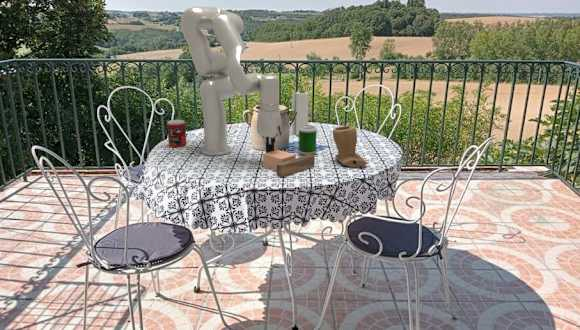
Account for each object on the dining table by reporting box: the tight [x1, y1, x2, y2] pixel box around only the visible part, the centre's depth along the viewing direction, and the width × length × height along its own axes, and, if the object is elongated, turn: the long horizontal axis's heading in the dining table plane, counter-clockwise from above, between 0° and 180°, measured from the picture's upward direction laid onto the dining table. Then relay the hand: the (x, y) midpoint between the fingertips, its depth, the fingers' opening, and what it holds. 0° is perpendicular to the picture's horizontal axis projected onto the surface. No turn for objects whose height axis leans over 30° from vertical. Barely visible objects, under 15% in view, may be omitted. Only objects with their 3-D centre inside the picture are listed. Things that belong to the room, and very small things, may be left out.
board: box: [276, 154, 316, 178], centre depth 170 cm, size 3×18×4 cm, turn 136°
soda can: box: [298, 124, 318, 156], centre depth 190 cm, size 8×8×12 cm
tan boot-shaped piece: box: [332, 125, 368, 168], centre depth 178 cm, size 15×12×15 cm
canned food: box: [166, 119, 187, 148], centre depth 202 cm, size 8×8×11 cm
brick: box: [262, 149, 297, 172], centre depth 174 cm, size 10×8×6 cm
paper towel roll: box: [291, 91, 310, 137], centre depth 220 cm, size 7×6×21 cm
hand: (270, 152), depth 179 cm, fingers closed
